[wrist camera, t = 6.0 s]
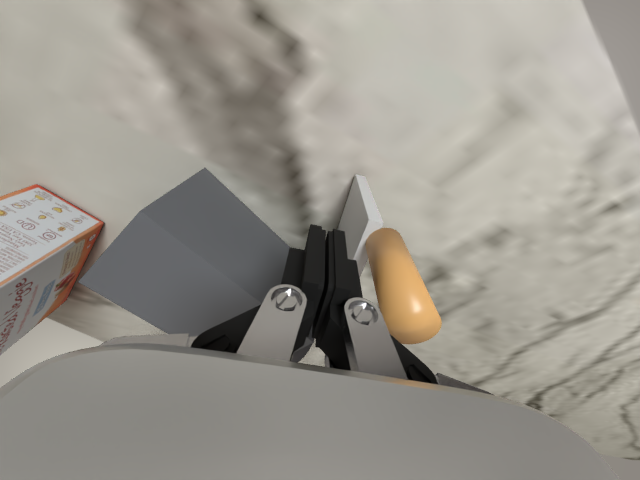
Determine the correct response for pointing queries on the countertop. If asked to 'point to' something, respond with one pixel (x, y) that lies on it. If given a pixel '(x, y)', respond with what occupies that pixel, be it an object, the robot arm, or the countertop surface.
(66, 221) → the cracker box
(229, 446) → the robot arm
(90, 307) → the countertop surface
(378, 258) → the grey blade tan handle
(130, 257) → the block
